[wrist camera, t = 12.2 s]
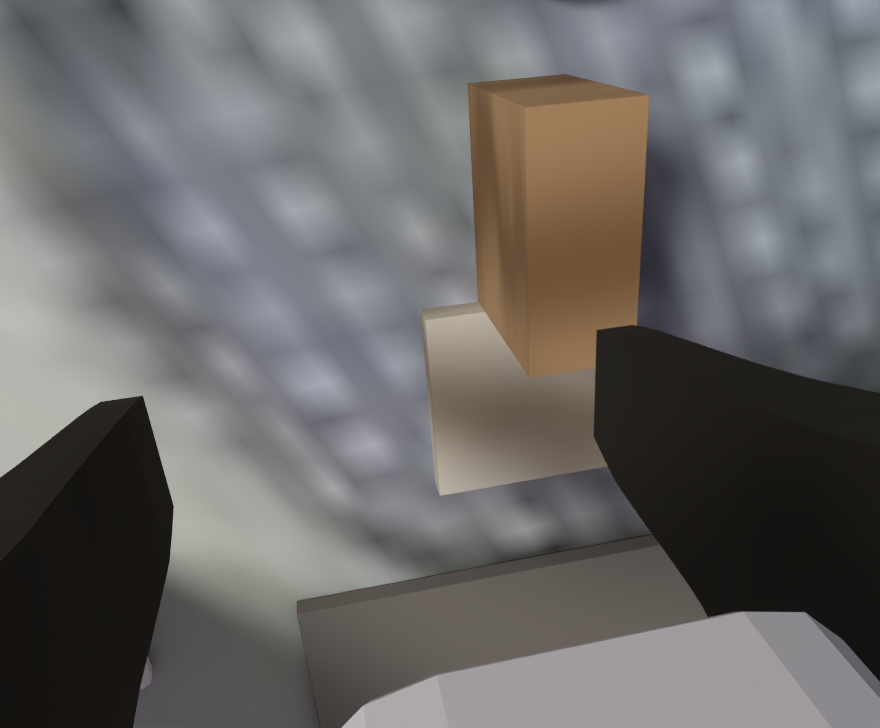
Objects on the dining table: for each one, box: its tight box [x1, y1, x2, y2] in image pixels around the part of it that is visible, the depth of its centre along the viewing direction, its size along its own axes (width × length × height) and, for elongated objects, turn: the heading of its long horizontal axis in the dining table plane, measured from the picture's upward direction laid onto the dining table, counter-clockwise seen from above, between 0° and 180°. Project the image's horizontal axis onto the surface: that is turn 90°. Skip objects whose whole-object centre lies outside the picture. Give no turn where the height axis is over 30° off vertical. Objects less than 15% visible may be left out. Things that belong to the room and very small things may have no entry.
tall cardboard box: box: [421, 74, 650, 496], centre depth 20 cm, size 12×6×5 cm, turn 4°
